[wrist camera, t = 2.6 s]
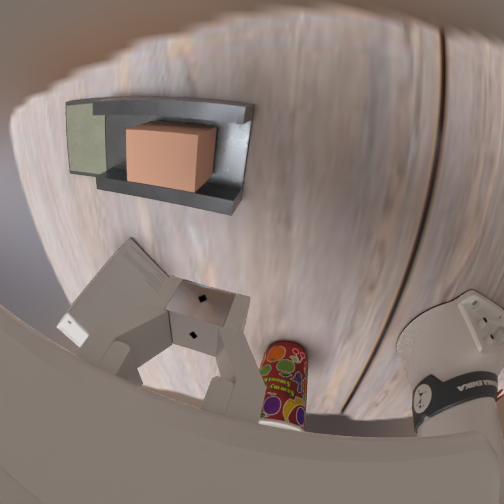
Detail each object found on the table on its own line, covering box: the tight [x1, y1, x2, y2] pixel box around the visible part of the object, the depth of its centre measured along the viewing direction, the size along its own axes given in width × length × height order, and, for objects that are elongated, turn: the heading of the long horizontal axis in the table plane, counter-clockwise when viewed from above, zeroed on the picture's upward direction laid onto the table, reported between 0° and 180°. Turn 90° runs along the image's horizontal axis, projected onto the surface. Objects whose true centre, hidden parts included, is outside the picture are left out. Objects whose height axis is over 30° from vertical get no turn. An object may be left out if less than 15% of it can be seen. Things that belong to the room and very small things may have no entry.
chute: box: [66, 96, 255, 216], centre depth 25 cm, size 24×10×4 cm, turn 82°
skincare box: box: [57, 239, 169, 347], centre depth 31 cm, size 8×6×15 cm
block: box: [126, 121, 217, 193], centre depth 23 cm, size 7×5×4 cm
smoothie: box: [258, 342, 308, 432], centre depth 33 cm, size 8×8×20 cm
